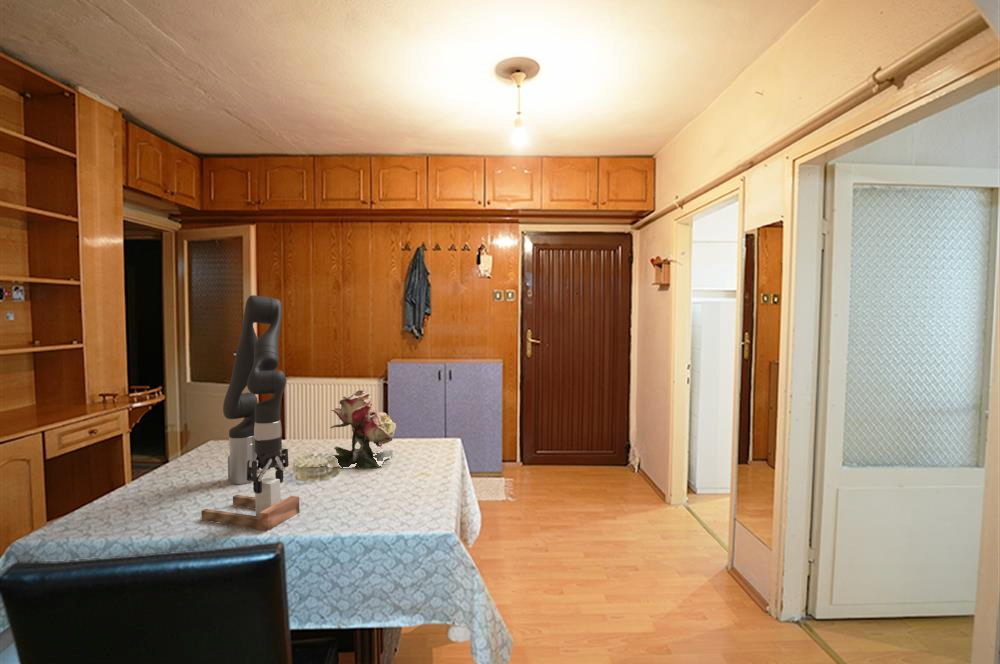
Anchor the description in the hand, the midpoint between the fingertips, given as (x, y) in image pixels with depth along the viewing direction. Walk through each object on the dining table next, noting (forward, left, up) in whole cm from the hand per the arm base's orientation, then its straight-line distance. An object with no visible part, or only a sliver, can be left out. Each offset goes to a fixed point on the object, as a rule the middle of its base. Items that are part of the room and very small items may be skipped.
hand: (268, 487), depth 142 cm
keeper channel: (-7, 0, -10) cm, 12 cm away
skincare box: (-1, 0, -10) cm, 10 cm away
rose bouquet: (-5, +60, -10) cm, 61 cm away
